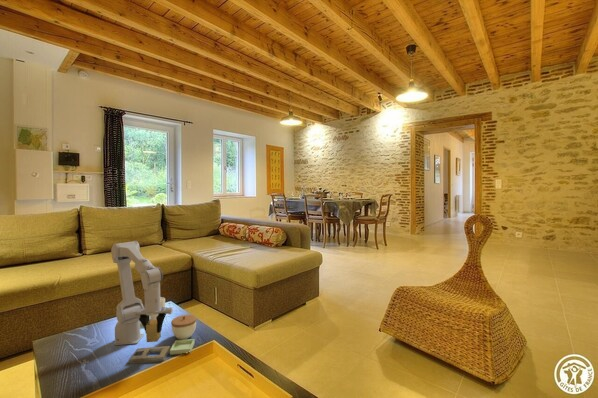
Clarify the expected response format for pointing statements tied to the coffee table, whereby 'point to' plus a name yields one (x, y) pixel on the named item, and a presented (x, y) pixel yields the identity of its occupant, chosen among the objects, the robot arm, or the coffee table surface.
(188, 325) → the lidded jar
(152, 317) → the white cup
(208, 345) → the coffee table surface
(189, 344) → the parts tray
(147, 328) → the upright wooden block
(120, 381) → the coffee table surface
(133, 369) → the coffee table surface
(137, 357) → the grey rectangular frame
